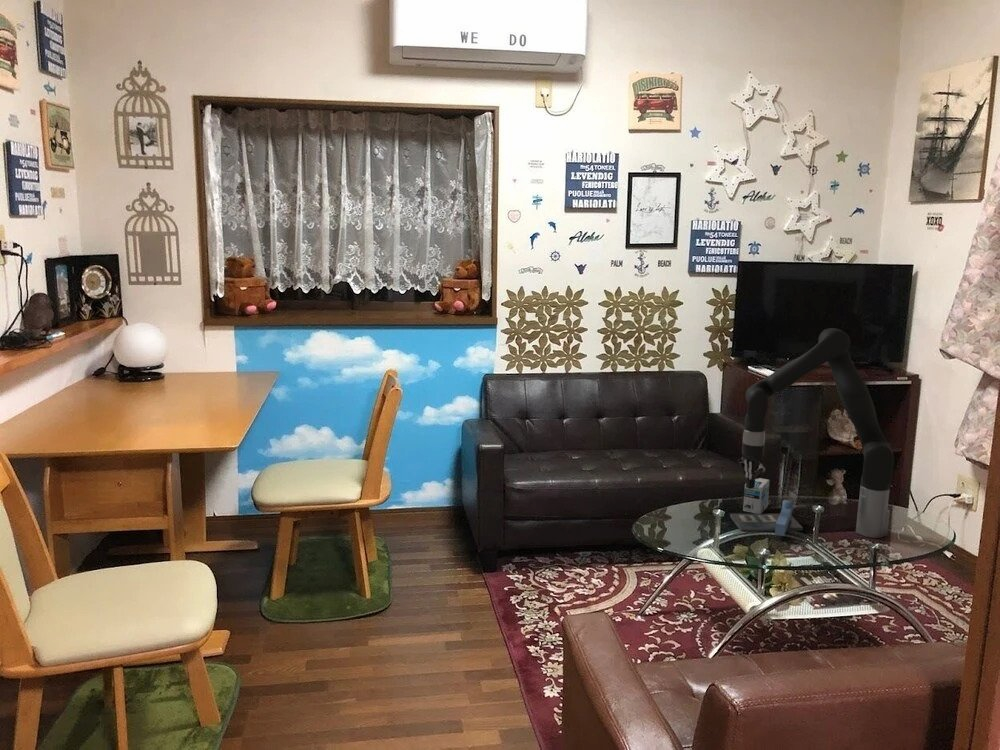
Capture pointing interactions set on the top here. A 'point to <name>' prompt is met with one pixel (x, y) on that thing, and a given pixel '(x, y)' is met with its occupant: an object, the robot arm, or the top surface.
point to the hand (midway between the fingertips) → (750, 488)
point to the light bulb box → (756, 496)
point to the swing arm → (784, 517)
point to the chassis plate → (762, 522)
